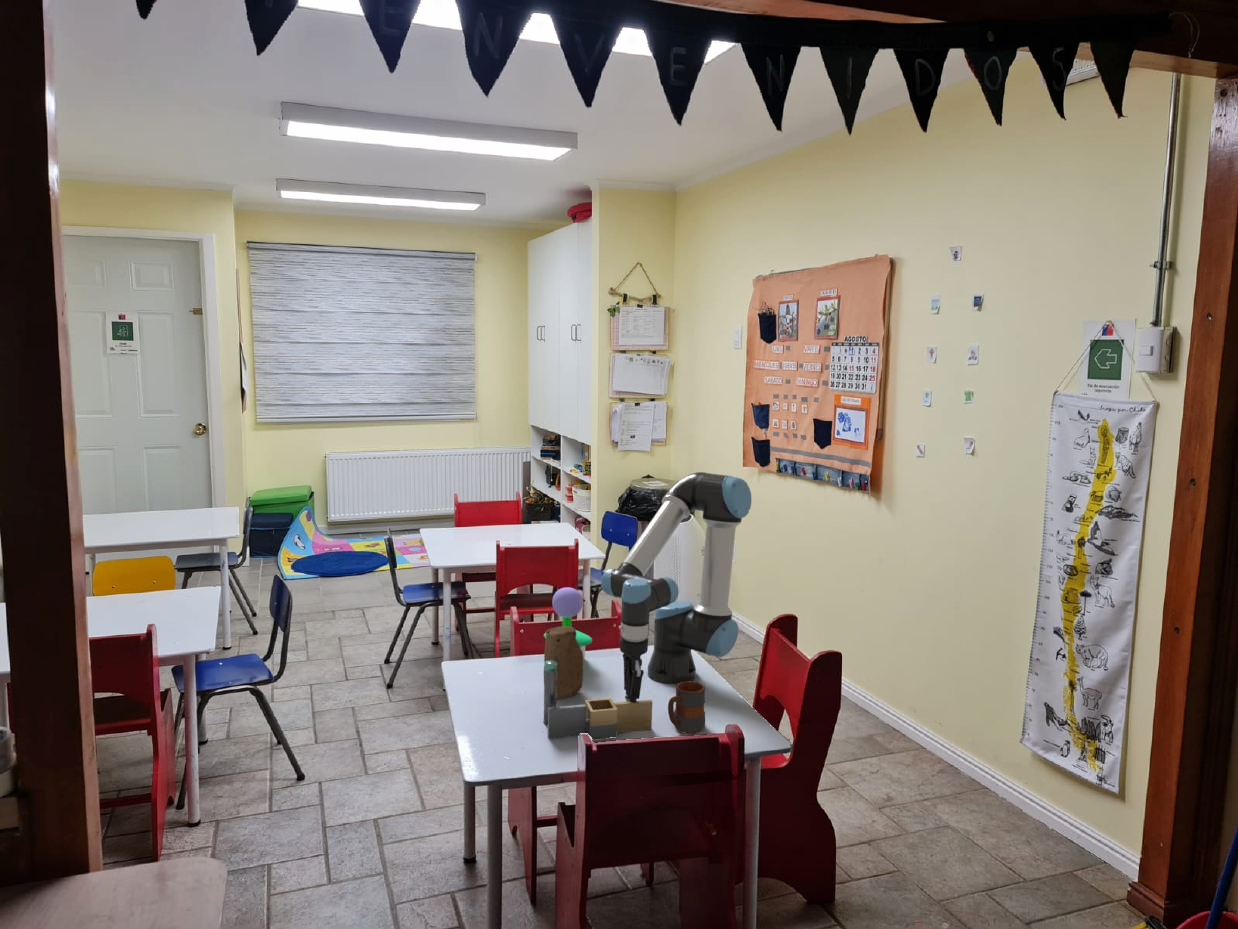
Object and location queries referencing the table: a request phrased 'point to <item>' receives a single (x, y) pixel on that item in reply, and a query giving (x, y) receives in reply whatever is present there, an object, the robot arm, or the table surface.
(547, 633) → the brown rounded block
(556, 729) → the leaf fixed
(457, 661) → the table surface
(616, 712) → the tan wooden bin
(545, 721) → the pin
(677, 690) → the mug
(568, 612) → the toy character
